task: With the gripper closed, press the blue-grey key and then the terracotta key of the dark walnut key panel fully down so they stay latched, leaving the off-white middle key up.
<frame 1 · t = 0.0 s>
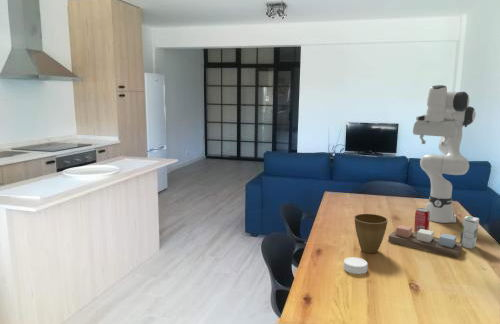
hand: (433, 144, 194), 48 cm above the table, fingers open, 8 cm apart
blue-grey key: (447, 240, 179), point 5 cm above the table, slide at 0.0 cm
syrup box: (467, 246, 186), on the table
plant pot: (368, 250, 180), on the table
terracotta key: (404, 231, 191), point 5 cm above the table, slide at 0.0 cm
white key: (425, 235, 185), point 5 cm above the table, slide at 0.0 cm
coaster: (355, 269, 160), on the table
key panel: (424, 245, 186), on the table
soda can: (420, 233, 203), on the table
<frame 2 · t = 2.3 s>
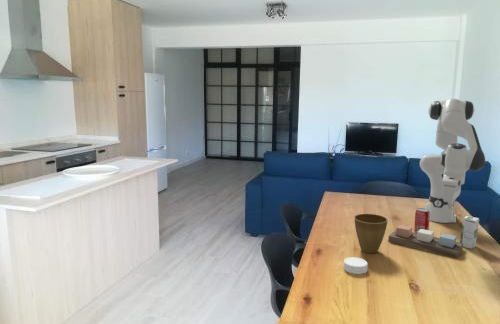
hand: (450, 207, 177), 21 cm above the table, fingers closed
nothing on the table moved.
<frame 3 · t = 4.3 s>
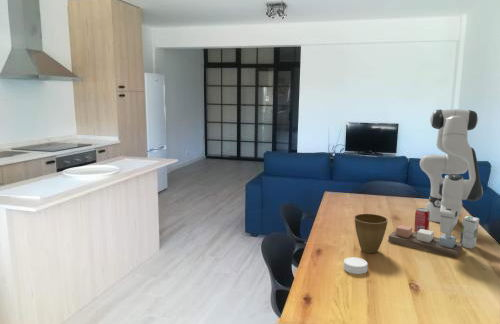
hand: (448, 237, 179), 7 cm above the table, fingers closed
blue-grey key: (447, 241, 179), point 5 cm above the table, slide at 0.4 cm, touching gripper
everything else where it was.
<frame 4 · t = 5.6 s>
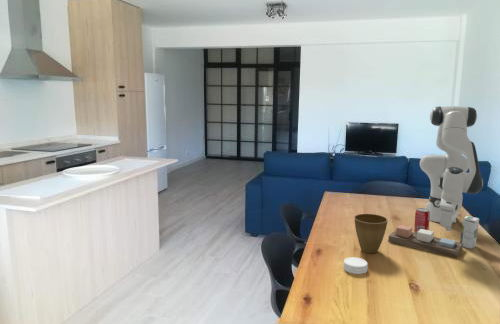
hand: (448, 230, 179), 10 cm above the table, fingers closed
blue-grey key: (447, 245, 180), point 3 cm above the table, slide at 2.4 cm
everything else where it was.
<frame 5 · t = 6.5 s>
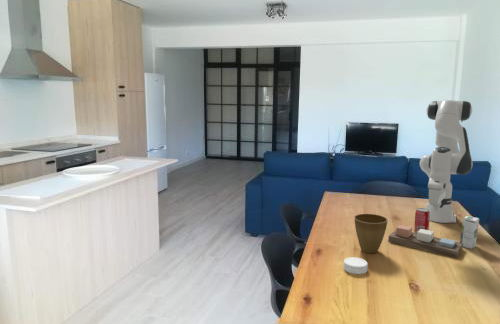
hand: (436, 209, 181), 19 cm above the table, fingers closed
nothing on the table moved.
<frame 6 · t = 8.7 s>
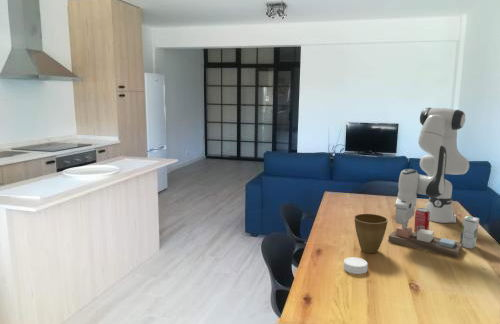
hand: (404, 228, 191), 7 cm above the table, fingers closed
terracotta key: (404, 231, 192), point 5 cm above the table, slide at 0.4 cm, touching gripper
everything else where it was.
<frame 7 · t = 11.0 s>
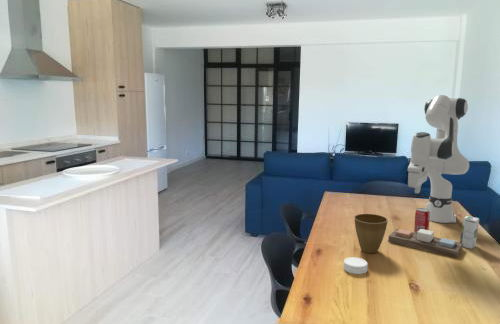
hand: (417, 192, 189), 25 cm above the table, fingers closed
terracotta key: (403, 235, 192), point 3 cm above the table, slide at 2.4 cm
everything else where it was.
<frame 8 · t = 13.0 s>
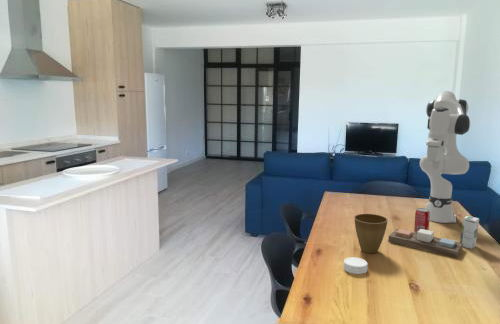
hand: (435, 168, 186), 37 cm above the table, fingers closed
nothing on the table moved.
at the end: blue-grey key slide at 2.4 cm; terracotta key slide at 2.4 cm; white key slide at 0.0 cm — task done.
